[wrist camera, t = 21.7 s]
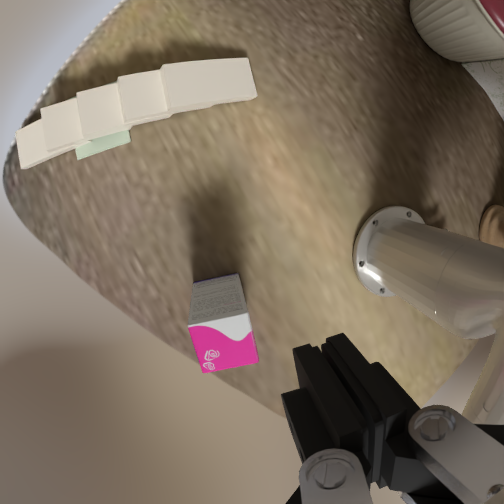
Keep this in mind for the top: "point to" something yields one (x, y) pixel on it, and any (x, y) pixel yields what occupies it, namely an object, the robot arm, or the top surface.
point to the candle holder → (492, 226)
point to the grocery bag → (489, 79)
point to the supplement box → (221, 324)
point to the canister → (461, 28)
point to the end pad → (102, 142)
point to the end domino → (36, 145)
